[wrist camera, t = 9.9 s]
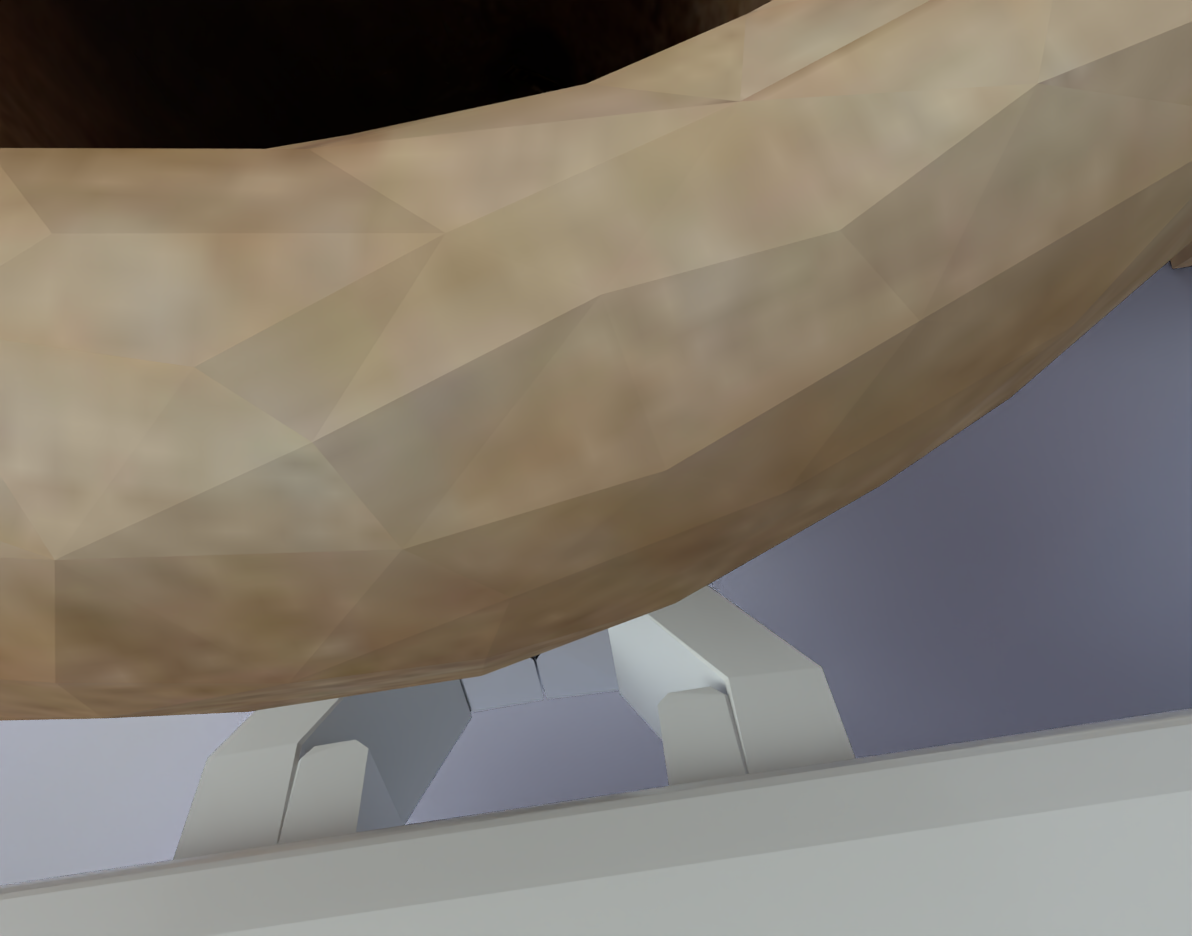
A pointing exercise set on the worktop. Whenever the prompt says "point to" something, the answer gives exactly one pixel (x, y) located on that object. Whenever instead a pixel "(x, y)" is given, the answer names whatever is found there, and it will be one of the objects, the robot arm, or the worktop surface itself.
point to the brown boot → (515, 307)
